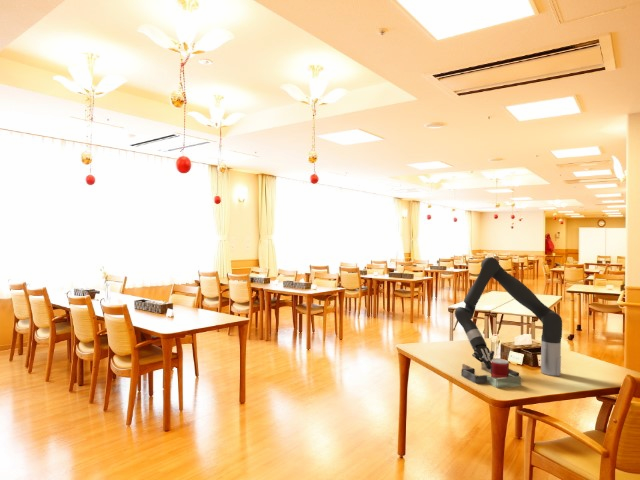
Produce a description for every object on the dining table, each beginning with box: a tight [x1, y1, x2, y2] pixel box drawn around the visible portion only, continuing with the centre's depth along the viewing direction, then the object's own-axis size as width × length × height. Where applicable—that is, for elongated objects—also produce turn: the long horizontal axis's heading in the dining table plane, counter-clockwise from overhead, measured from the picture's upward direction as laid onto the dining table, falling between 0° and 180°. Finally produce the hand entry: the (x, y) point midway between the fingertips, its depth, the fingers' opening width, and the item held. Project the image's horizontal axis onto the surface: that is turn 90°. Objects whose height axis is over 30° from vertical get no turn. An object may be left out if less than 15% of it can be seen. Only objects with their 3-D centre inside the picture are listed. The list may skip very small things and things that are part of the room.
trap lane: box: [460, 362, 522, 389], centre depth 218 cm, size 28×25×4 cm
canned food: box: [490, 358, 510, 379], centre depth 211 cm, size 8×8×11 cm
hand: (490, 368), depth 218 cm, fingers closed
